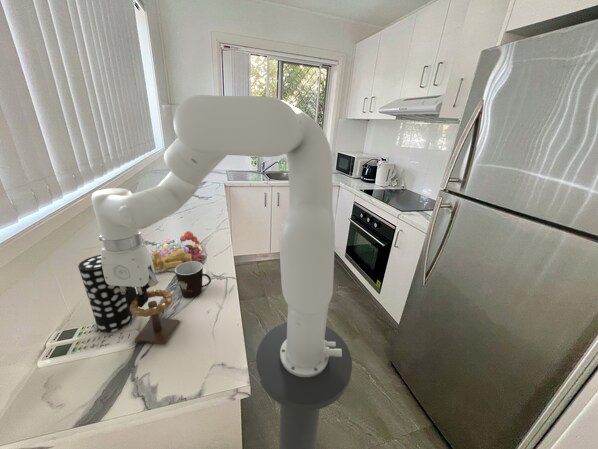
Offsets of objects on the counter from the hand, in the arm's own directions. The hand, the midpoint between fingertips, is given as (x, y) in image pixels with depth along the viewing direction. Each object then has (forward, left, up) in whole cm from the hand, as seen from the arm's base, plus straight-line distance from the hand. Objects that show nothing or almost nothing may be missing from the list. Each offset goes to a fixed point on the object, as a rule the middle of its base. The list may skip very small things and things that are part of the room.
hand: (138, 303), depth 64 cm
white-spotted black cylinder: (+10, -3, -10) cm, 15 cm away
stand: (-4, 0, -10) cm, 10 cm away
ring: (-4, 0, +1) cm, 4 cm away
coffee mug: (-7, -17, -10) cm, 21 cm away
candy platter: (+11, -40, -10) cm, 43 cm away
